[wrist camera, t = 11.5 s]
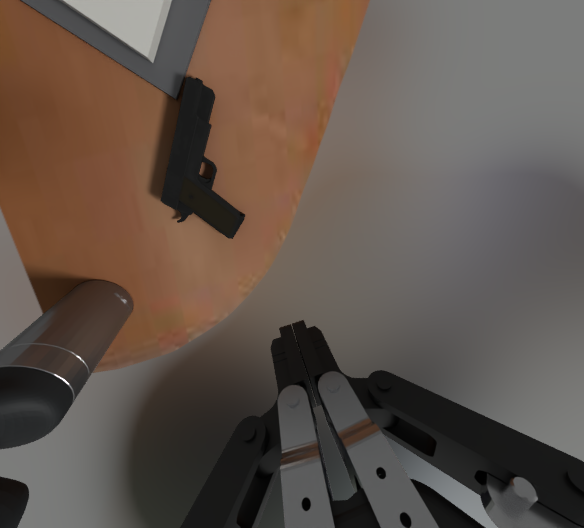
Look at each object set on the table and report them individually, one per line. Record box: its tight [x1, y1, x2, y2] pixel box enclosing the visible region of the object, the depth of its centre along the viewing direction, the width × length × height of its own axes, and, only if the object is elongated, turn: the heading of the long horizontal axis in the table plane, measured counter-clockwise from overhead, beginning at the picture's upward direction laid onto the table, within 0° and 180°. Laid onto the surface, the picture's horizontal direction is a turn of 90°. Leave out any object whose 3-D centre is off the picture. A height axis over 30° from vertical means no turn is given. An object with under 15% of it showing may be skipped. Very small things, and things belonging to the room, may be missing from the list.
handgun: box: [161, 77, 245, 239], centre depth 33 cm, size 3×19×12 cm
